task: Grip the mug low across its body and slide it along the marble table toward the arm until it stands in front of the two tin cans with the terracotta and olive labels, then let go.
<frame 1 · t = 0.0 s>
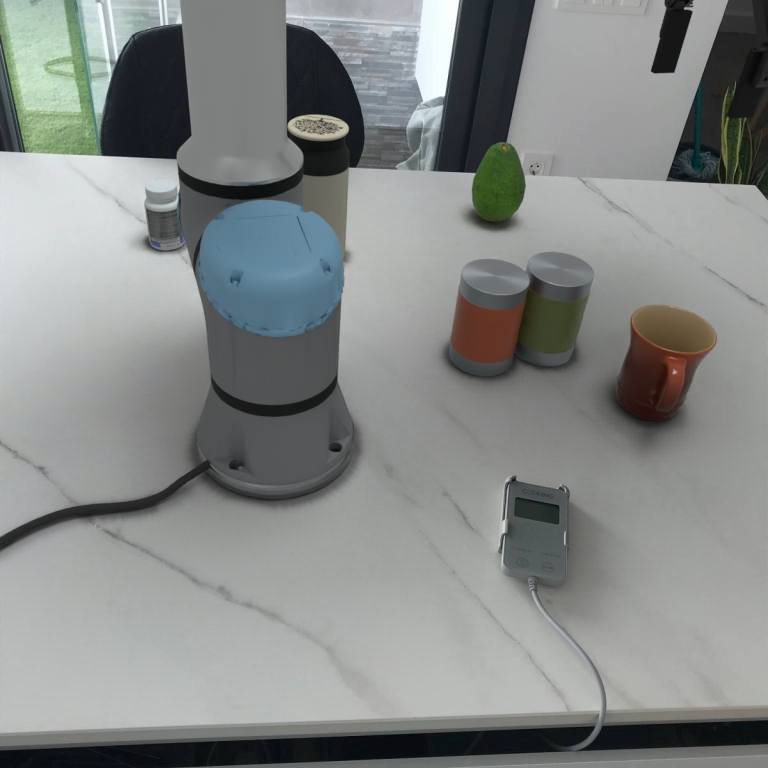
hand: (698, 93, 83), 28 cm above the table, tool pointing down, fingers open, 13 cm apart
tins: (511, 352, 92), on the table
mug: (645, 413, 85), on the table
fruit: (492, 220, 118), on the table
pill bottle: (167, 244, 106), on the table
travel mug: (315, 255, 106), on the table
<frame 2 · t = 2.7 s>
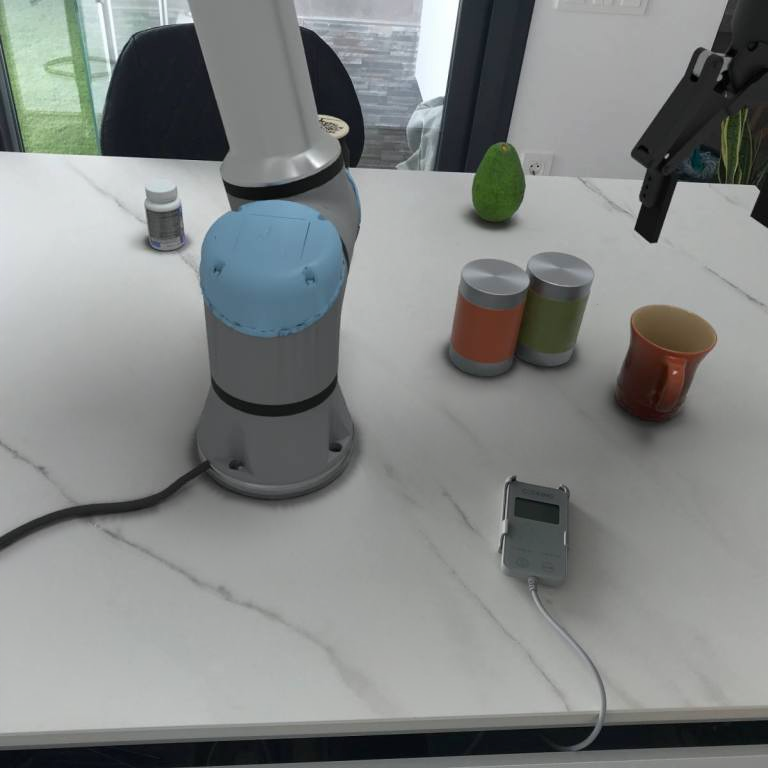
hand: (705, 229, 74), 21 cm above the table, tool pointing down, fingers open, 13 cm apart
nothing on the table moved.
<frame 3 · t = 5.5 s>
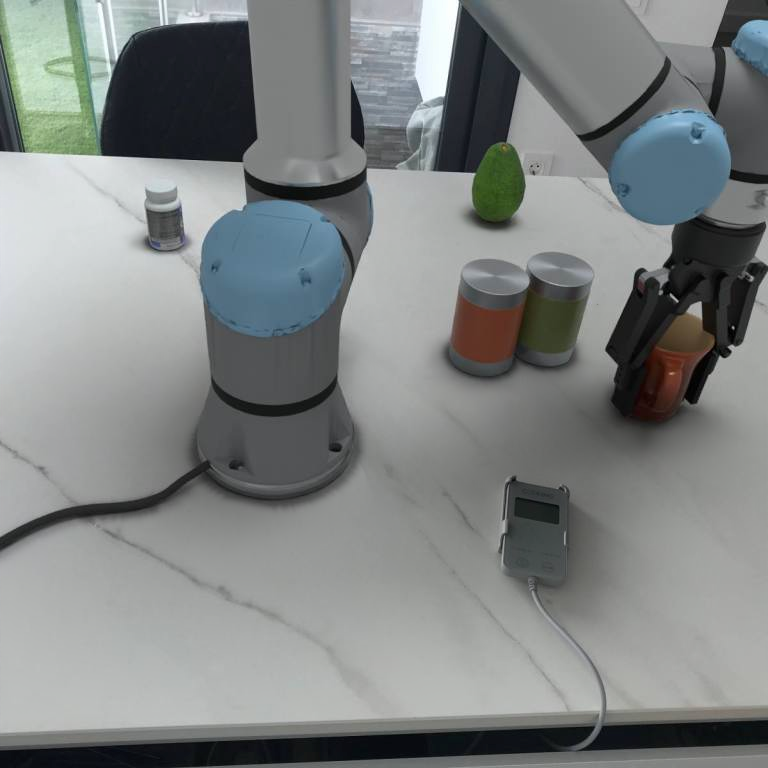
hand: (653, 402, 84), 1 cm above the table, tool pointing down, fingers closed on mug, 8 cm apart
mug: (643, 414, 85), on the table, touching gripper
everything else where it was.
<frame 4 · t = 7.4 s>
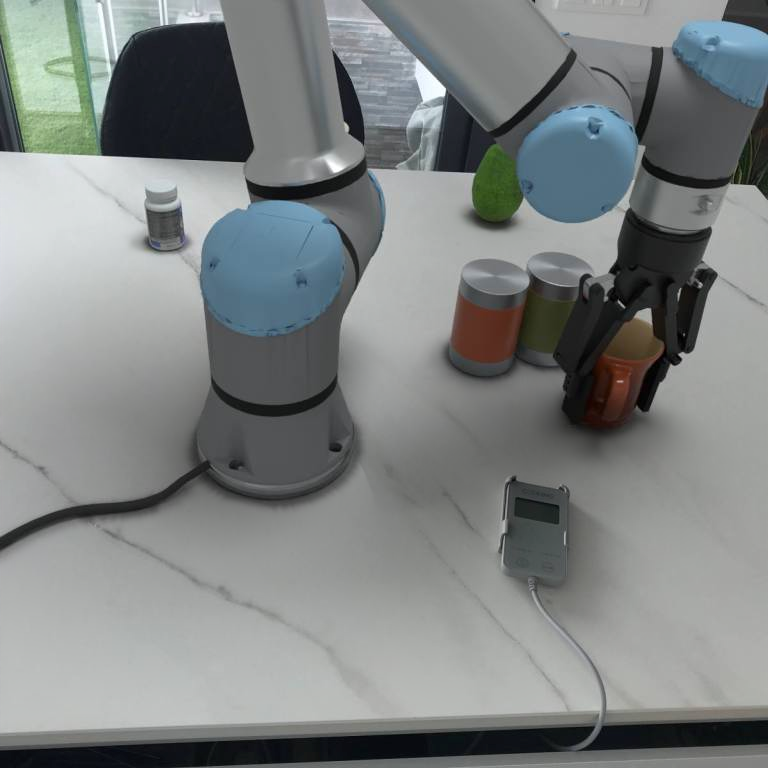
hand: (605, 410, 82), 1 cm above the table, tool pointing down, fingers closed on mug, 8 cm apart
mug: (595, 422, 83), on the table, touching gripper
everything else where it was.
when the fingers open (1 cm above the table, at t = 9.4 s): mug stays where it is, on the table.
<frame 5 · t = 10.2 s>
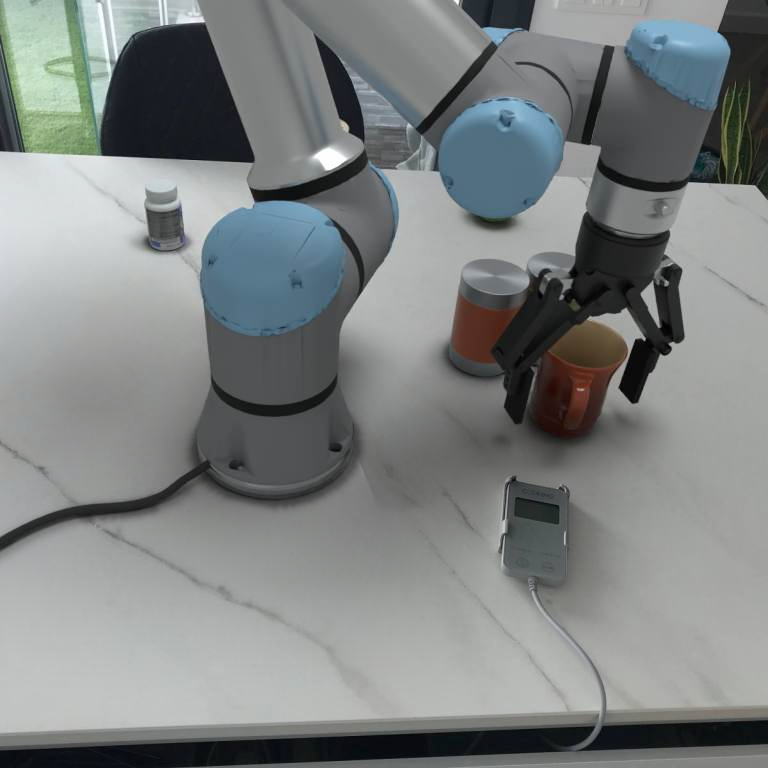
hand: (571, 405, 80), 3 cm above the table, tool pointing down, fingers open, 13 cm apart
mug: (560, 430, 82), on the table
everything else where it was.
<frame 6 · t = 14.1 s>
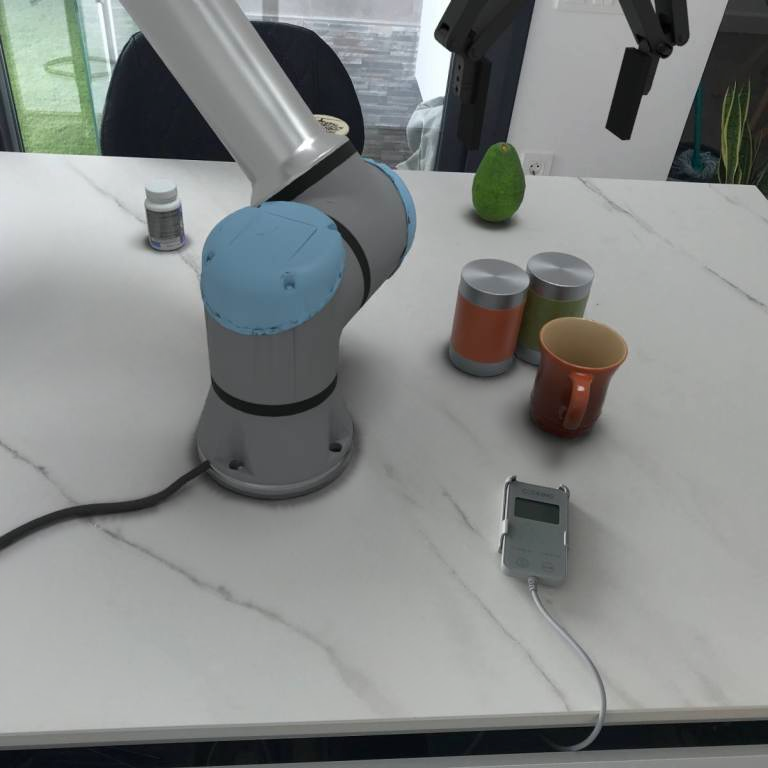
hand: (544, 139, 63), 31 cm above the table, tool pointing down, fingers open, 13 cm apart
nothing on the table moved.
at the end: mug inside the target area on the table beside the tins (0.7 cm from its centre), on the table; mug tilted 0°; tins moved 0.0 cm from its start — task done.
